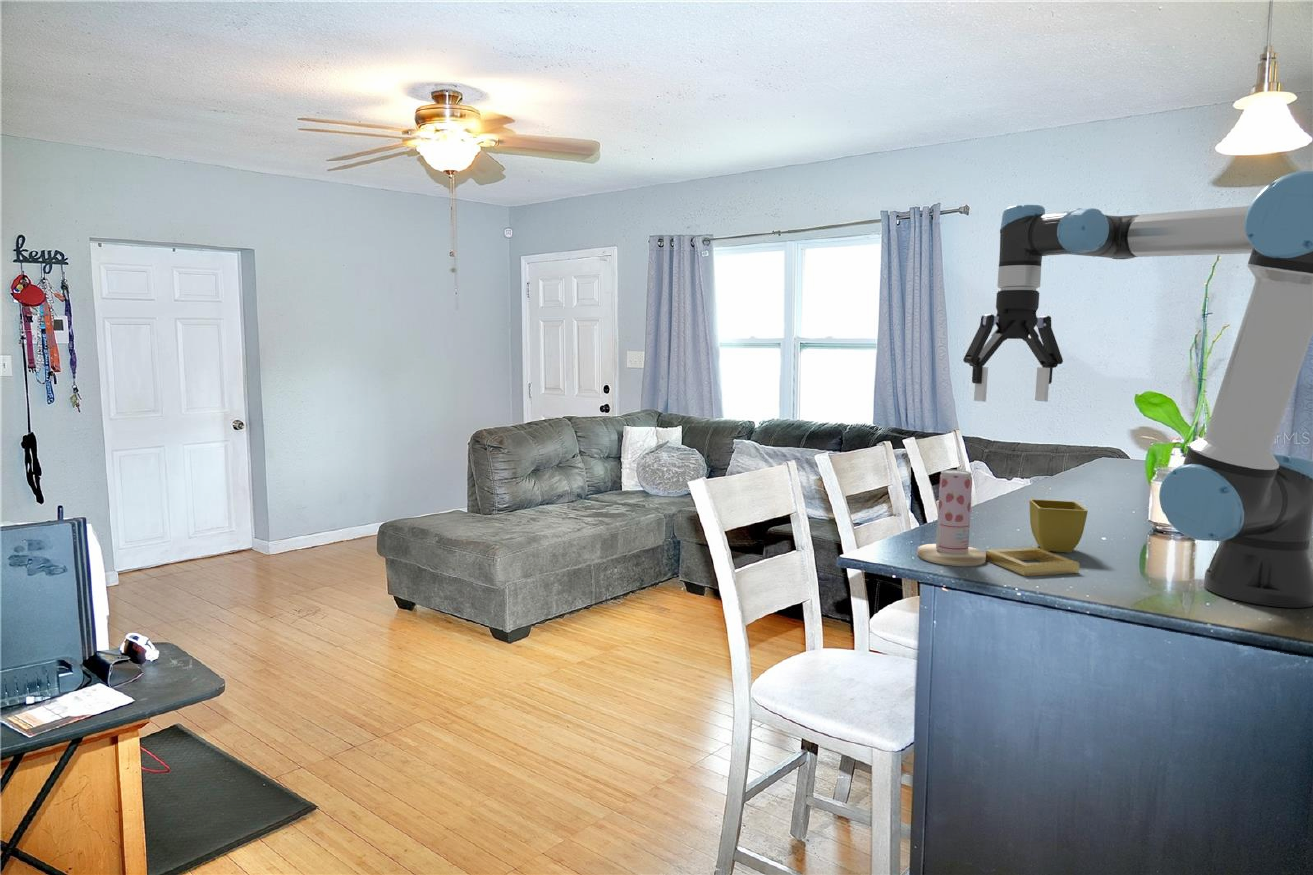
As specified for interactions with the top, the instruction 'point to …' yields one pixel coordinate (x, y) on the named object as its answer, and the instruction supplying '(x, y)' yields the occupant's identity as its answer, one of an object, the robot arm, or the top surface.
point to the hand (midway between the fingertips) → (1010, 401)
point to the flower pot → (1057, 524)
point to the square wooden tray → (1046, 566)
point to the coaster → (951, 556)
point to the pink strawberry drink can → (954, 512)
